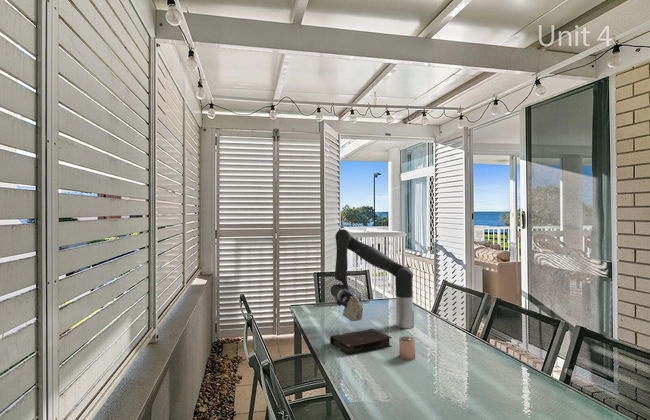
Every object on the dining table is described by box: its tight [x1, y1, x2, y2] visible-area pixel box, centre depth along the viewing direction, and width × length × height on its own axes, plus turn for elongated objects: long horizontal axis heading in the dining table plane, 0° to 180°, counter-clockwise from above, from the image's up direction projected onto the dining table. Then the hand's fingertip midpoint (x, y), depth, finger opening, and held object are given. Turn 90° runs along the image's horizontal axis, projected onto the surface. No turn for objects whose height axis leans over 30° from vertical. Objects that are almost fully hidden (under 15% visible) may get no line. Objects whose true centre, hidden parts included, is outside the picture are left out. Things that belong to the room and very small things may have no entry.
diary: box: [329, 328, 393, 356], centre depth 184 cm, size 19×25×5 cm
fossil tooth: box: [342, 296, 364, 322], centre depth 185 cm, size 12×6×15 cm
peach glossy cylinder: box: [398, 335, 416, 361], centre depth 169 cm, size 7×7×8 cm
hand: (352, 305), depth 185 cm, fingers closed on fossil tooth, 5 cm apart
